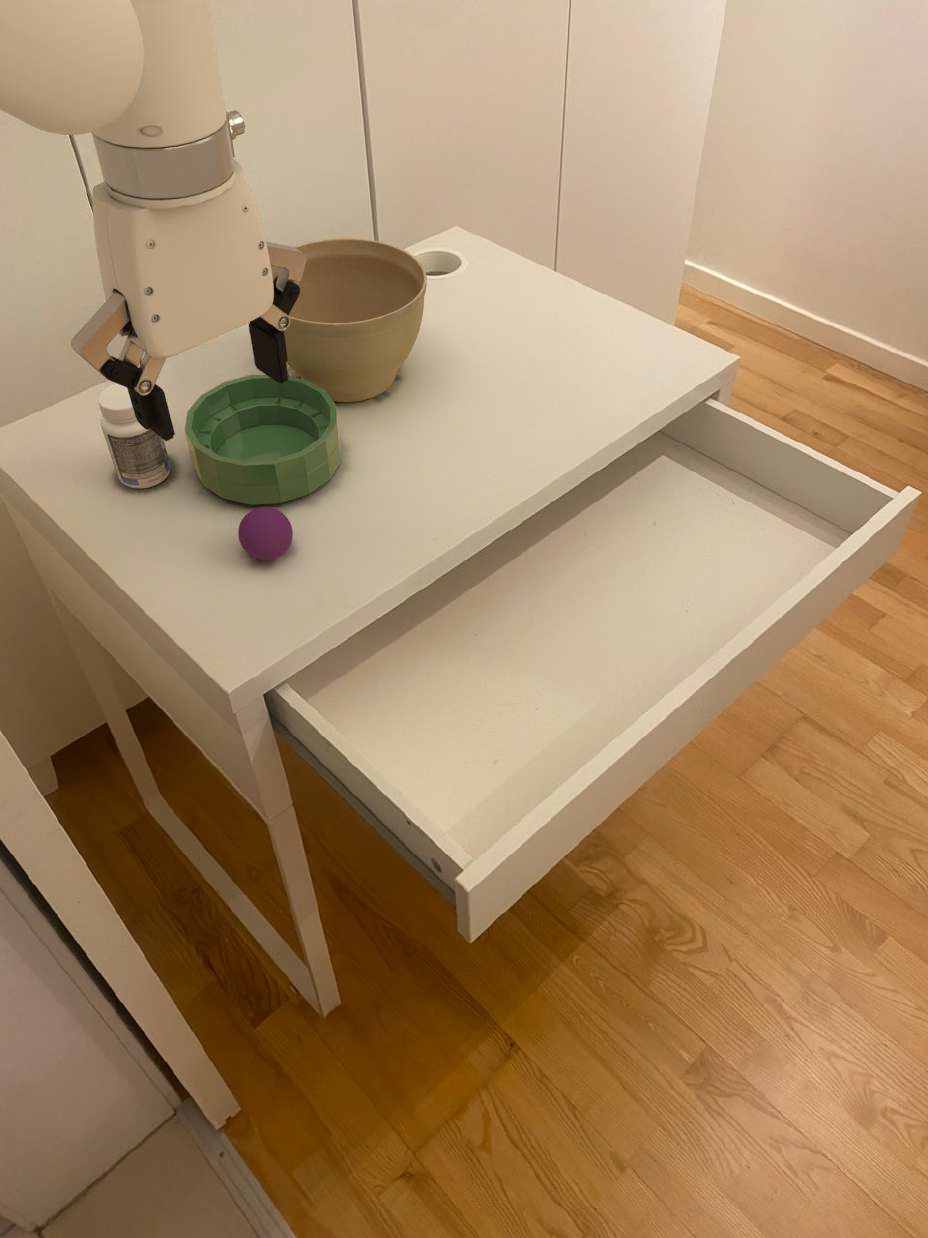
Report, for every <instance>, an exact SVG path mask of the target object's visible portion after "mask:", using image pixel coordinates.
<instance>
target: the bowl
mask: <svg viewBox="0 0 928 1238" xmlns="http://www.w3.org/2000/svg"><path fill="white" fill-rule="evenodd" d="M339 427H340V426H339V416H338V407H337V403H335V401H333V400H332V399H331V397H330V396H329V395H328V393H327V392H326V391H325V390H324V389H322V388H320V387H319V386H317V385H315V384H313V383H311V382H309V381H307V380H306V379H302V378H301V377H297V376H292V375H288V381H286V382H284V383H282V384H281V383H277V382H276V381H274V380H273V379H272V378H270V377H269V376H267V375H266V374H264V373H262V374H250V375H246V376H241V377H238V378H235V379H231V380H227V381H224V382H222V383H220V384H218V385H215V386H214V387H213V388H211V389H209V390H208V391H206V392H204V393H202V394H201V395H200V396H199V397H198V398H197V399H196V400H195V402H194V403H193V404H192V405H191V407H190V408H189V409H188V410H187V411H186V418H185V426H184V434H185V437H186V442H187V447H188V450H189V454H190V458H191V461H192V467H193V470H194V471H195V473H196V475H197V477H198V479H199V481H200V483H201V484H202V486H203V487H205V488H206V489H208V490H209V491H210V492H212V493H214V494H215V495H217V496H218V497H220V498H222V499H224V500H227V501H228V500H229V501H233V502H237V503H241V504H246V505H253V506H254V505H270V504H271V505H272V504H283V503H285V502H288V501H292V500H294V499H298V498H301V497H305V496H308V495H310V494H312V493H313V492H314V491H316V490H317V489H318V488H320V487H321V486H323V485H324V484H326V483H327V482H328V481H330V480H331V478H332V476H333V475H334V474H335V472H336V470H337V468H338V467H339V465H340V464H341V461H342V460H341V459H342V458H341V456H342V455H341V438H340V437H341V436H340V428H339Z"/></svg>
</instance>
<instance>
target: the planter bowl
mask: <svg viewBox="0 0 928 1238" xmlns="http://www.w3.org/2000/svg"><path fill="white" fill-rule="evenodd" d="M293 247H294V248H296V249H298V250H299V251H301V252H303V253H304V254H305V255H306V257H307V261H306V265H305V268H304V272H303V276H302V279H301V282H299V285H298V286H299V287H300V294H299V297H298V299H297V300H296V302H295V304H294V306H293V308H292V310H291V312H290V313H289V315H288V316H289V317H290V321H291V322H290V325H289V327H288V328H287V329H286V330H285V331H284V335H285V342H286V350H287V357H288V360H287V362H286V364H287V365H288V366H289V367H290V368H291V370H292V371H293V372H295V374H296V375H298V376H299V378H302V379H306V380H307V381H309V382H311V383H313V384H315V385H317V386H319V387H320V388H322V389H324V390H325V391H326V392H327V393H328V395H329V396H330V397H331V399H332V400H333V401H334V402H339V403H352V402H361V401H365V400H369V399H372V398H374V397H377V396H379V395H381V394H383V393H384V392H385V391H387V390H388V389H389V388H390V387H391V386H392V385H393V383H394V382H395V379H396V376H397V372H398V371H399V369H400V368H401V367H402V366H403V364H404V363H405V362H406V360H407V358H408V357H409V355H410V353H411V351H412V350H413V348H414V346H415V343H416V341H417V338H418V336H419V333H420V330H421V327H422V321H423V318H424V317H423V315H424V309H425V294H426V291H427V285H428V278H427V272H426V269H425V267H424V265H423V264H422V262H421V261H420V260H419V259H418V258H417V257H416V256H414V255H413V254H412V253H410V252H409V251H407V250H406V249H403V248H401V247H399V246H396V245H393V244H390V243H387V242H384V241H380V240H374V239H368V238H357V237H338V238H327V239H320V240H319V239H318V240H314V241H313V240H312V241H308V242H304V243H300V244H298V245H294V246H293ZM271 270H272V277H273V281H274V279H275V278H276V277H277V276H278V274H277V272H278V267H276V266H271Z"/></svg>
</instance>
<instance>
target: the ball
mask: <svg viewBox="0 0 928 1238" xmlns="http://www.w3.org/2000/svg"><path fill="white" fill-rule="evenodd" d="M237 531H238V532H237V535H238V541H239V543H240V546H241V547H242V549H243V550H244V552H246V554H248V555H249V556H251V557H252V558H254V559H256V560H260V561H272V560H275V559H278V558H280V557H282V556H283V555H284V554H285V553H286V552H287V551H288V550H289V548H290V546H291V544H292V542H293V538H294V537H293V535H294V532H293V526H292V524H291V521H290V519H289V518H288V516H287V515H286V514H284V513H283V512H282V511H281V510H279V509H277V508H274V507H272V506H259V507H256V508H253V509H251V510H249V511H248V512H247V513H246V514H244V516H243V517H242V518H241V520H240V523H239V526H238V530H237Z"/></svg>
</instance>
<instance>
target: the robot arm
mask: <svg viewBox="0 0 928 1238" xmlns="http://www.w3.org/2000/svg"><path fill="white" fill-rule="evenodd" d="M216 46H217V45H216V40H215V34H214V28H213V19H212V14H211V9H210V2H209V0H0V110H1V111H2V112H4V113H6V114H8V115H10V116H12V117H14V118H16V119H17V120H19V121H21V122H23V123H25V124H26V125H29V126H30V127H33V128H35V129H38V130H39V131H42V132H45V133H49V134H57V135H63V136H80V135H85V134H88V133H91V136H92V140H93V144H94V146H95V151H96V155H97V159H98V163H99V166H100V170H101V175H102V178H103V181H102V182H100V183H98V184H96V185H94V186H93V188H92V191H91V192H92V195H91V196H92V200H91V201H92V219H93V220H92V221H93V231H94V240H95V247H96V254H97V261H98V266H99V272H100V273H99V274H100V277H101V283H102V287H103V293H104V297H105V302H104V303H103V304H102V305H101V306H100V307H99V308H98V309H97V311H96V312H95V313H94V314H93V315H92V316H91V317H90V319H89V320H88V321H87V322H86V323H85V324H84V325H83V326H82V327H81V328H80V329H79V331H78V332H77V333H76V334H75V335H73V337H72V338H71V340H70V347H71V349H72V350H73V351H74V352H75V353H77V355H78V356H80V357H81V358H82V359H83V360H84V361H85V362H87V364H89V366H91V367H92V368H93V369H94V370H95V371H96V372H97V373H99V374H100V375H102V376H103V377H104V378H105V379H106V380H107V381H110V382H112V383H114V384H119V385H122V386H124V387H127V389H128V393H129V396H130V400H131V403H132V406H133V410H134V413H135V417H136V419H137V421H138V422H139V424H140V425H141V426H142V427H143V428H145V429H146V430H148V429H151V430H152V431H154V432H155V433H156V434H157V435H159V436H160V437H161V438H162V439H163V440H164V442H168V441H170V440H172V439H174V436H175V435H176V433H175V429H174V425H173V421H172V418H171V414H170V408H169V405H168V401H167V397H166V394H165V391H164V390H163V389H162V387H161V386H159V385H158V384H157V381H158V379H159V376H160V374H161V372H162V369H163V367H164V364H165V362H166V360H167V359H168V358H171V357H174V356H177V355H180V354H182V353H184V352H186V351H189V350H191V349H193V348H196V347H197V346H199V345H202V344H205V343H207V342H209V341H211V340H213V339H215V338H219V337H220V336H222V335H224V334H227V333H229V332H231V331H233V330H235V329H237V328H239V327H242V326H244V325H246V324H248V330H249V337H250V343H251V349H252V355H253V361H254V366H255V367H256V369H257V370H259V372H261V373H262V374H266V375H267V376H269V377H270V378H272V379H273V380H274V381H276V382H277V383H281V384H282V383H284V382H286V381H288V376H289V373H288V368H287V367H288V366H287V365H288V364H287V363H286V362H287V360H288V357H287V350H286V342H285V335H284V331H285V330H286V329H287V328H288V327H289V325H290V322H291V321H290V317H289V316H288V315H289V313H290V312H291V310H292V308H293V306H294V304H295V302H296V300H297V299H298V297H299V294H300V287H299V286H298V285H299V282H301V279H302V276H303V272H304V268H305V265H306V261H307V257H306V255H305V254H304V253H303V252H301V251H299V250H298V249H296V248H294V246H291V245H286V244H282V243H281V244H280V243H276V242H270V241H267V240H266V235H265V231H264V227H263V224H262V221H261V220H262V219H261V216H260V213H259V210H258V206H257V203H256V200H255V197H254V194H253V190H252V188H251V185H250V183H249V181H248V177H247V175H246V172H245V170H244V168H243V166H242V164H241V163H240V162H239V161H238V160H236V159H234V158H235V157H236V156H235V149H234V143H233V142H234V140H235V139H236V138H237V137H238V136H240V135H243V134H245V132H246V124H245V121H244V118H243V116H242V114H241V113H240V112H239V111H238V110H231V111H227V110H226V109H227V108H226V104H225V98H224V97H225V96H224V91H223V84H222V78H221V73H220V71H221V70H220V65H219V58H218V53H217V48H216ZM271 266H276V267H278V272H277V274H278V276H277V277H276V278H275V279H274V281H273V277H272V270H271ZM117 335H119V336H121V337H124V336H125V337H126V336H127V337H126V339H125V342H124V345H123V347H122V349H121V352H120V354H119V357H118V358H117V357H115V356H113V355H110V354H109V352H108V346H109V344H110V343H111V342H112V341H113V340H114V339H115V337H116V336H117ZM141 360H142V361H141Z"/></svg>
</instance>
